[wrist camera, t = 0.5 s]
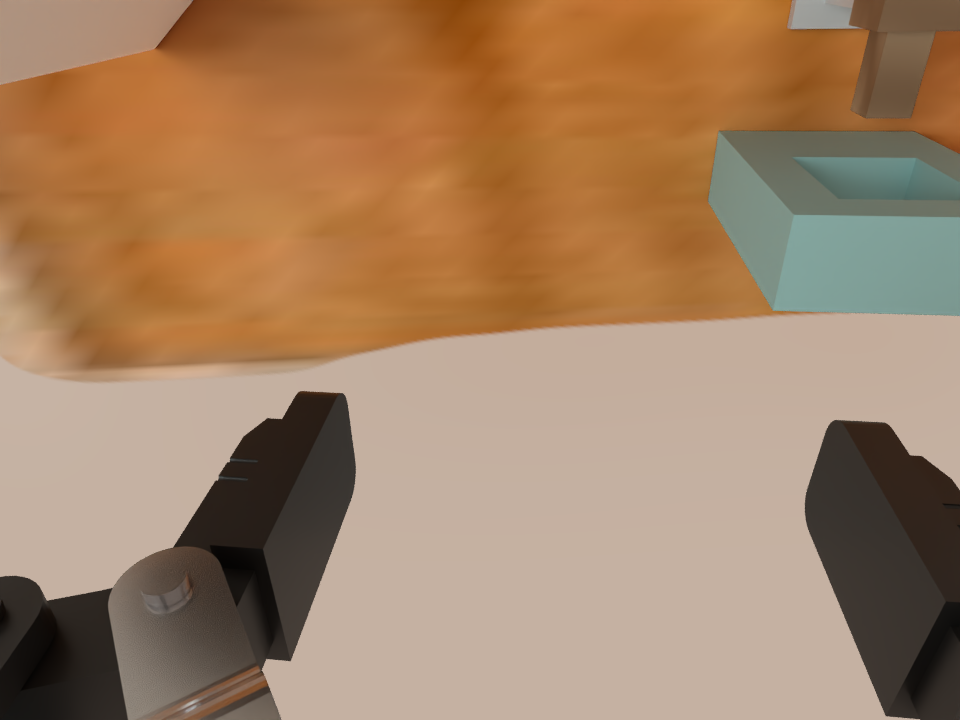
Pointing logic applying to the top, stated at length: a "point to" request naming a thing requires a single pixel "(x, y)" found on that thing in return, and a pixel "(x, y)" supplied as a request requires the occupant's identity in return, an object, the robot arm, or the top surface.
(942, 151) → the teal rectangular frame
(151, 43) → the milk
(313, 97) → the top surface
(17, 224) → the top surface
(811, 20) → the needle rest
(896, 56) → the needle
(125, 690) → the robot arm
